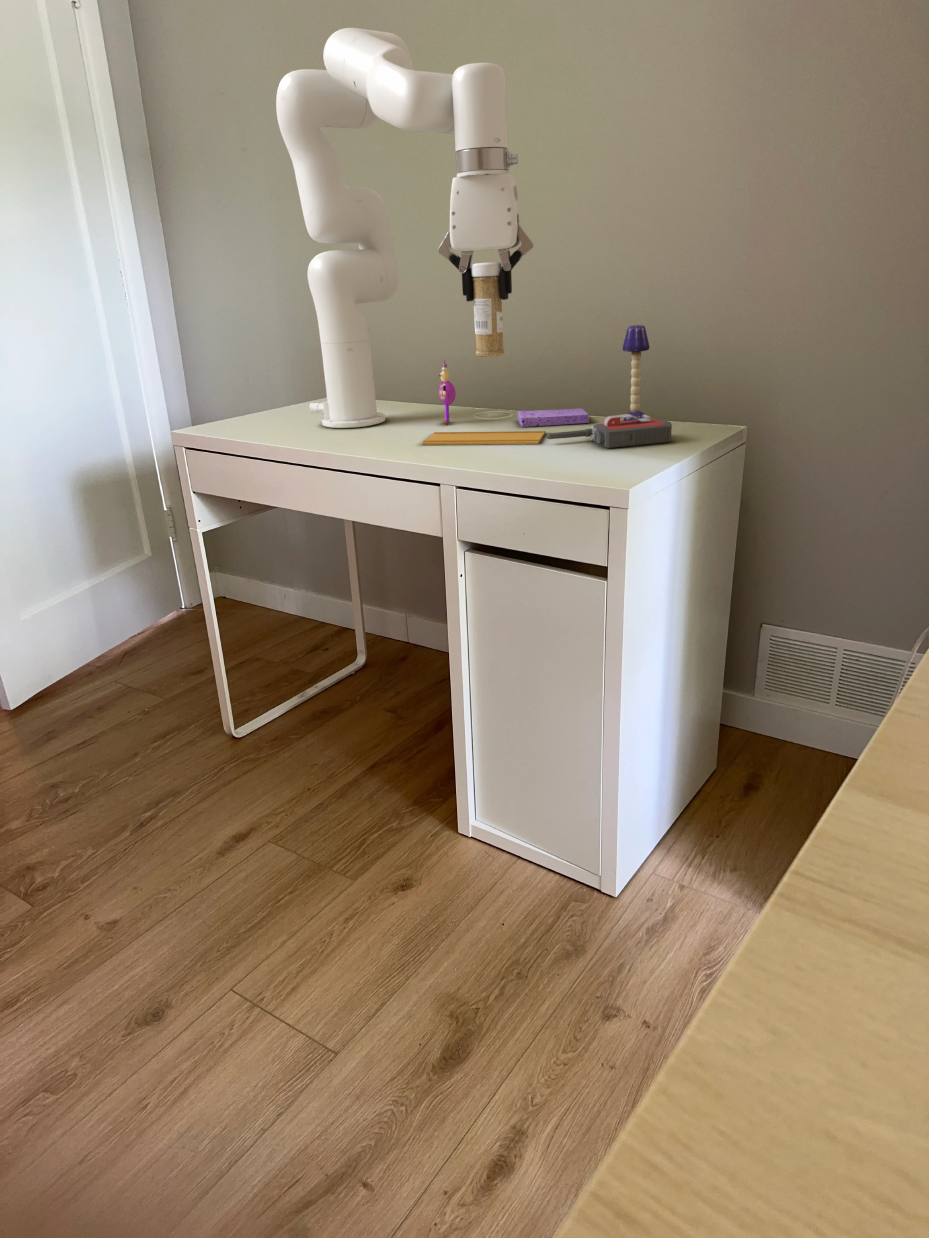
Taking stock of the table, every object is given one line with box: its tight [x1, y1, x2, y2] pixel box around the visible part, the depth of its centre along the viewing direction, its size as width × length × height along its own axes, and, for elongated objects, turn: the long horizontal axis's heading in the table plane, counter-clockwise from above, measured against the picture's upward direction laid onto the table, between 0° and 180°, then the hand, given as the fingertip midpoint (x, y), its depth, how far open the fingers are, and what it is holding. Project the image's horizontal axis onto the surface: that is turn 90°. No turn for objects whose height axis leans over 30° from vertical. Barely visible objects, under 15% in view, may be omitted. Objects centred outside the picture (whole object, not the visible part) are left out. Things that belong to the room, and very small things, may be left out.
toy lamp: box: [622, 324, 650, 422], centre depth 152 cm, size 5×5×17 cm
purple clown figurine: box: [438, 358, 457, 425], centre depth 161 cm, size 11×3×12 cm, turn 179°
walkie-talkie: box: [546, 413, 673, 449], centre depth 139 cm, size 9×4×20 cm
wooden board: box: [422, 430, 546, 446], centre depth 148 cm, size 20×9×1 cm, turn 77°
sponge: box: [517, 408, 590, 428], centre depth 159 cm, size 7×13×2 cm, turn 91°
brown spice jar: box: [471, 261, 505, 358], centre depth 131 cm, size 5×5×13 cm
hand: (487, 298), depth 130 cm, fingers closed on brown spice jar, 4 cm apart
